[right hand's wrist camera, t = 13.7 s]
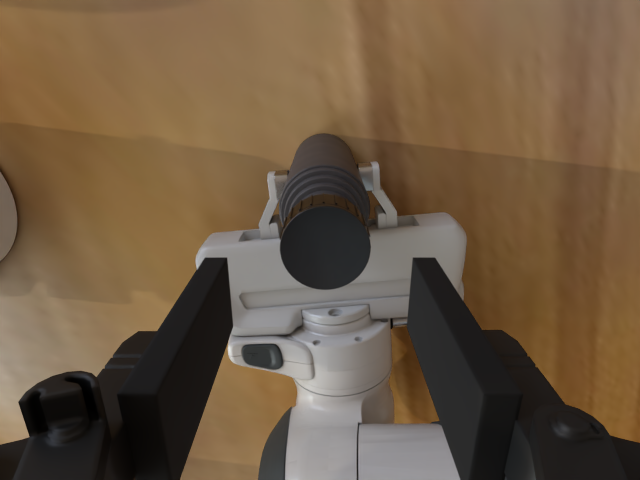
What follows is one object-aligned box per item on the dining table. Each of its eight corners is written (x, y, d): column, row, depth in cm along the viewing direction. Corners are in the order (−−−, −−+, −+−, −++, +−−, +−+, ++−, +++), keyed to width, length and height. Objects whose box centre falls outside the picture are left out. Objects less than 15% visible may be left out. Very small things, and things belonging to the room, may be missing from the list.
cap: (379, 207, 19) (385, 220, 17) (351, 281, 21) (354, 301, 19) (296, 181, 19) (293, 192, 17) (272, 259, 20) (268, 277, 18)
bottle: (361, 144, 35) (400, 210, 18) (342, 199, 37) (360, 309, 19) (303, 125, 35) (284, 174, 17) (287, 182, 37) (254, 280, 19)
